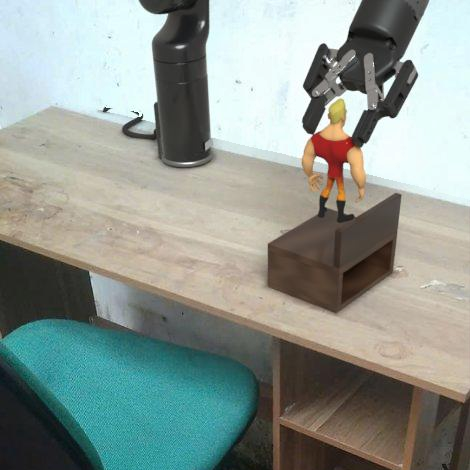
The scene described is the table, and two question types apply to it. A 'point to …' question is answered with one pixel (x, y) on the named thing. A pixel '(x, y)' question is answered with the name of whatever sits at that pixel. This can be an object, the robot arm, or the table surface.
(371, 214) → the shelf
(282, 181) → the table surface
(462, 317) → the table surface
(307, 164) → the action figure
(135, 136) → the robot arm
